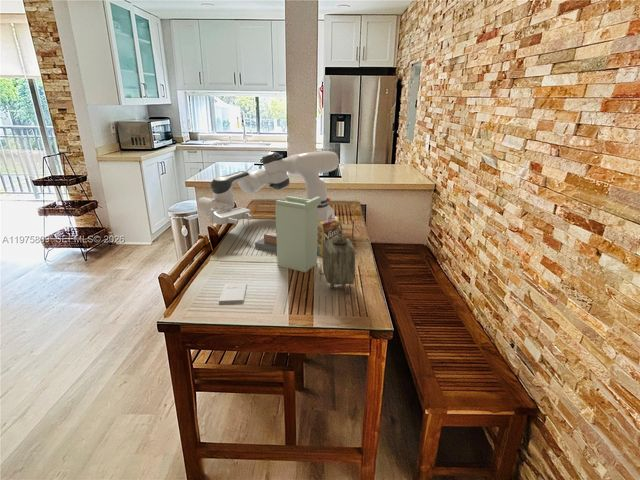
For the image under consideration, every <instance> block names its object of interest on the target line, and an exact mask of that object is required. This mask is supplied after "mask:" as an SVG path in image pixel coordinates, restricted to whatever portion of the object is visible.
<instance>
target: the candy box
mask: <svg viewBox="0 0 640 480" xmlns="http://www.w3.org/2000/svg"><path fill="white" fill-rule="evenodd" d="M338 222H340V221H339V219H338V220H337V219H334V218H333V219H328V220H323V221H318V228H317V255H319V256H320V257H323V242H324V241H326V240H328V239H333V238H334V236H335V235H338V229H337V224H338Z"/></svg>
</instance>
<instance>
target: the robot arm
mask: <svg viewBox="0 0 640 480" xmlns="http://www.w3.org/2000/svg"><path fill="white" fill-rule="evenodd" d="M261 163H262V165H263V168H264V169H263V168H258V169H257V168H256V169H254V170H252V171H250V172H248V171H246V170H245V171H244V170H240V171H237V172H233V173H230V174H227V175H221V176H217V177H215V178H213V180H212V181H211V182H210V188H211V191H212V195H213V198H209V197H205V196H203V197H200V198H198V200H197V202H196V203H197V204H196V208H197V210H198V212H199V213H200V214H202V215H205V216H206V217H209V222H210V223H213V224H215V225H216V224H217V225H220V226H221V225H226V224H234V225H237V224H239V221H240V220H243V219H247V220H250V221H251V220H253V215H251V214H252V211H251V209H249V208H246V207H242V206H241V207H240V206H238V207H237V206H236V207H235V198H234V194H233V193H234V192H233V184H235V183H237V184H238V186H239V188H240V189H241V190H242V191H243V192H244V193H246V194H249V195H251V194H255V193H256V192H258V191H259V190H261V189H263V188H264V186H265V185H268V184H269V185H268V187H270V188H273V189H274V190H277V191H278V190H283V189H286V188H287V187H288V186H289V185H290V183H291V181H290V177H289V176H288V173H289V174H293V175H300V176H301V177H302V179H303V181H304V184H305V192H306V196H305V197H306V198H305V199H310V200H311V199H313V198H315V197H317V196H318V197H321V204H320V205H318V206H317V229H318V221H323V220H328V219H333V218H334V219H337V220H339V217H338V216H336V215H335V210H334V208H332V206H330V205H329V202H331V198H330V197H328V184H327V183H326V181H324V180H322V179H320V175H319V174H323V173H329V172H330V173H331V172H333V171H335V170H336V169H337V168H338V167H339V164H340V159H339V156H338V154H337V153H336V152H334V151H330V150H322V151H321V150H320V151H310V152H309V151H307V152H303V153H295V154H291V155H289V156H287V157H285V158H284V155H283V154H280V153H279V152H276V151H269V152H267V153H265V154H264V155H263V156H262V157H261ZM337 170H338V169H337Z"/></svg>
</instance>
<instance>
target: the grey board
mask: <svg viewBox="0 0 640 480" xmlns="http://www.w3.org/2000/svg"><path fill="white" fill-rule="evenodd" d="M254 248H256V249H260V250H264V251H269V252H273V253H277V245H273V244H268V243H264V237H263V238H261V239H259V240H257V241H256V242H254Z"/></svg>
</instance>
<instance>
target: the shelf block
mask: <svg viewBox="0 0 640 480" xmlns="http://www.w3.org/2000/svg"><path fill="white" fill-rule="evenodd" d="M285 199H286V200H279V199H276V200H275V209H274V210H275V211H274V212H275V233H276V239H277V252H276V260H277V264H276V265H277V266H278V267H283V268H287V269H290V270H294V271H299V272H302V273H307V272H308V271H309V270H311V269H312V268H313V267H315V266H317V264H318V253H317V234H318V228H317V206H318V205H320V204H321V197H318V196H317V197H315V198H313V199H311V200H310V199H306V198H301V197H296V196H290V195H289V196H288V195H287V196H285Z"/></svg>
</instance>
